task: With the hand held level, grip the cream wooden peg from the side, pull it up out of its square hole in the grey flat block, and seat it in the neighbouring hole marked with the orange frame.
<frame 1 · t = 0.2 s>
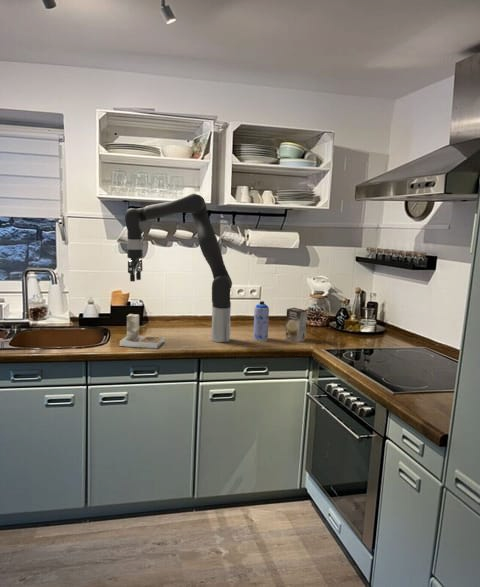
hand: (135, 280, 235), 29 cm above the worktop, tool pointing down, fingers open, 8 cm apart
coffee box: (295, 339, 243), on the worktop
peg: (133, 343, 224), resting in grey flat block
aerosol can: (260, 339, 241), on the worktop
grey flat block: (142, 344, 223), on the worktop
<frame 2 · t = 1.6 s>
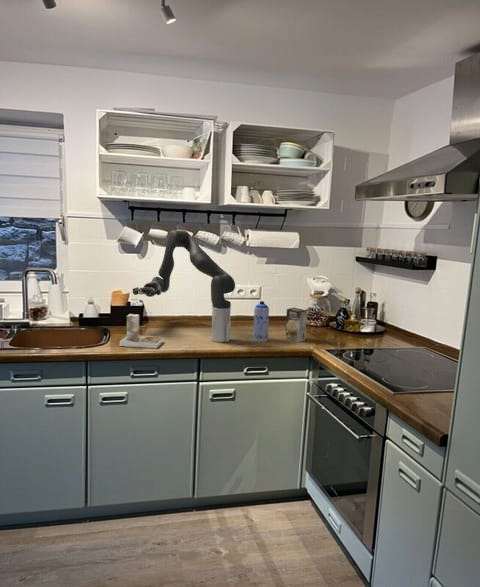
hand: (143, 293, 236), 22 cm above the worktop, tool horizontal, fingers open, 8 cm apart
nothing on the worktop moved.
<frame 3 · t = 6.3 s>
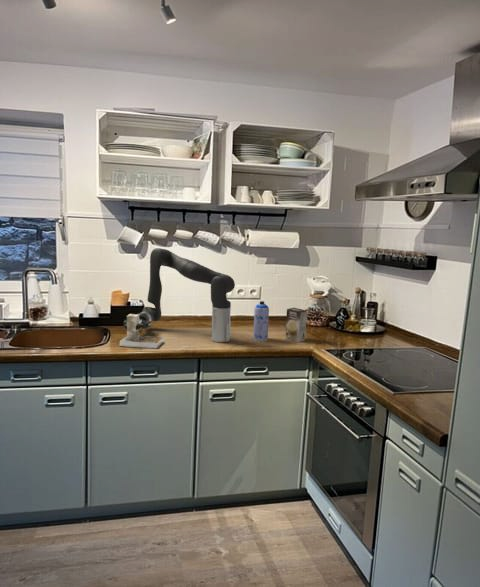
hand: (131, 327, 220), 9 cm above the worktop, tool horizontal, fingers closed on peg, 4 cm apart
peg: (133, 343, 224), resting in grey flat block, touching gripper
everything else where it was.
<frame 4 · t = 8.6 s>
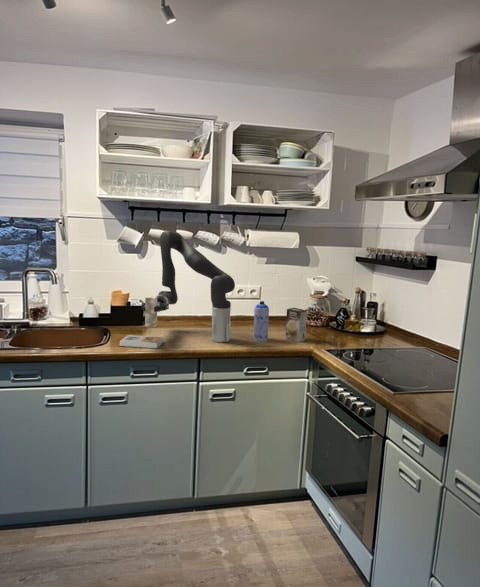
hand: (149, 309, 218), 18 cm above the worktop, tool horizontal, fingers closed on peg, 4 cm apart
peg: (151, 325, 222), point 9 cm above the worktop, touching gripper
everything else where it was.
when the fingers open (9 cm above the worktop, at t = 10.9 s): peg stays where it is, resting in grey flat block.
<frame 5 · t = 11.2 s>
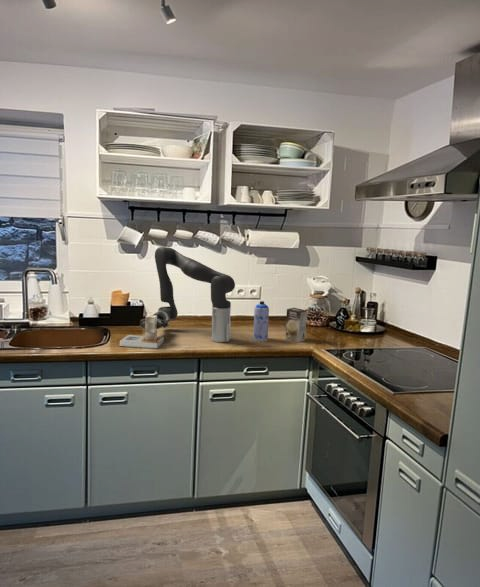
hand: (149, 326, 219), 10 cm above the worktop, tool horizontal, fingers open, 6 cm apart
peg: (151, 344, 223), resting in grey flat block
everything else where it was.
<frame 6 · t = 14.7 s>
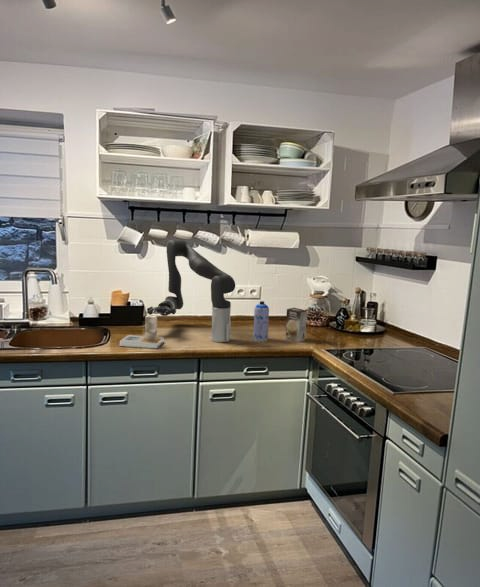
hand: (158, 313, 232), 13 cm above the worktop, tool horizontal, fingers open, 8 cm apart
nothing on the worktop moved.
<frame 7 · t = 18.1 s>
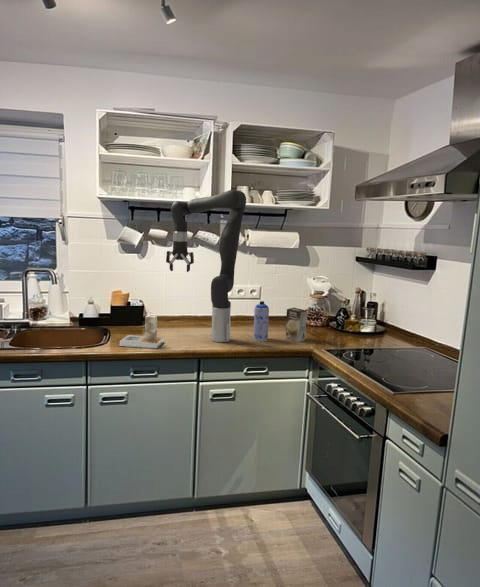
hand: (179, 271, 243), 33 cm above the worktop, tool pointing down, fingers open, 8 cm apart
nothing on the worktop moved.
at the end: peg 0.1 cm from the target spot on the grey flat block, point 0.0 cm above the grey flat block's base; peg tilted 0°; the gripper is holding nothing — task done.
